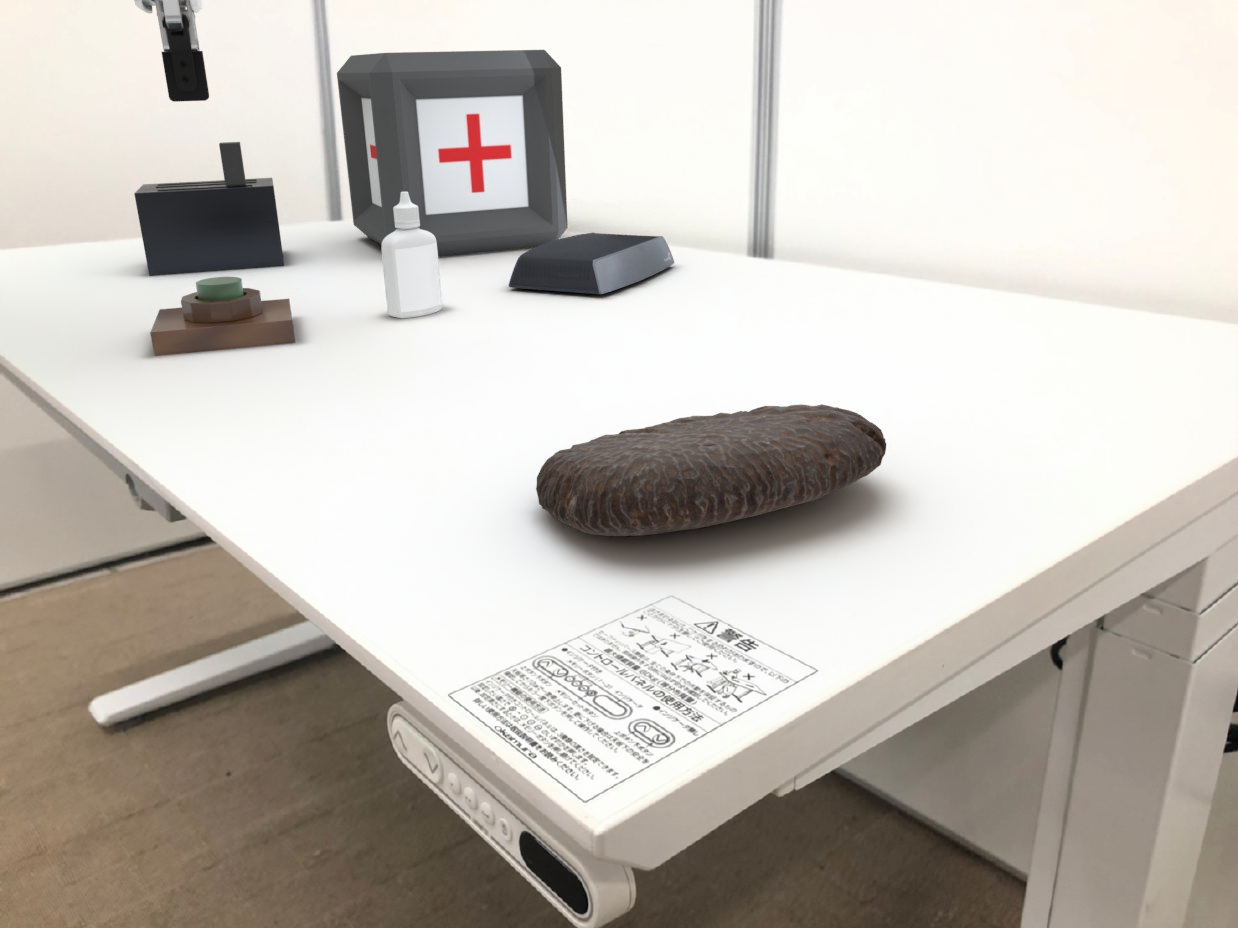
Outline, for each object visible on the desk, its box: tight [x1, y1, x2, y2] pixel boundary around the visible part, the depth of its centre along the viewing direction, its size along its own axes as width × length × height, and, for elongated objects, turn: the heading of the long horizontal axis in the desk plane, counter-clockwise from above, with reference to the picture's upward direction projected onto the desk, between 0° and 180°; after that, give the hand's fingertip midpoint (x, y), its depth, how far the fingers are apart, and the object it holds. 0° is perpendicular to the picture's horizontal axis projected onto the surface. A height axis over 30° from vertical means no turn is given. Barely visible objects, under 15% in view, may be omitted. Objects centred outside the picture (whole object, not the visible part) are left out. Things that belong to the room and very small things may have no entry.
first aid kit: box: [336, 49, 569, 257], centre depth 145 cm, size 25×25×25 cm
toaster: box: [133, 177, 285, 277], centre depth 135 cm, size 16×11×10 cm
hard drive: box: [508, 232, 675, 295], centre depth 121 cm, size 13×19×4 cm
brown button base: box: [149, 287, 296, 357], centre depth 99 cm, size 12×10×4 cm
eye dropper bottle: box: [380, 192, 443, 319], centre depth 105 cm, size 4×6×12 cm
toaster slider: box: [218, 141, 246, 186], centre depth 130 cm, size 2×2×5 cm
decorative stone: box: [535, 403, 887, 537], centre depth 59 cm, size 20×14×5 cm
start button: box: [195, 276, 244, 301], centre depth 98 cm, size 4×4×2 cm
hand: (189, 100), depth 92 cm, fingers closed
